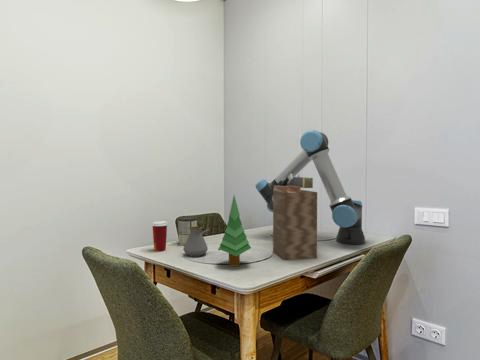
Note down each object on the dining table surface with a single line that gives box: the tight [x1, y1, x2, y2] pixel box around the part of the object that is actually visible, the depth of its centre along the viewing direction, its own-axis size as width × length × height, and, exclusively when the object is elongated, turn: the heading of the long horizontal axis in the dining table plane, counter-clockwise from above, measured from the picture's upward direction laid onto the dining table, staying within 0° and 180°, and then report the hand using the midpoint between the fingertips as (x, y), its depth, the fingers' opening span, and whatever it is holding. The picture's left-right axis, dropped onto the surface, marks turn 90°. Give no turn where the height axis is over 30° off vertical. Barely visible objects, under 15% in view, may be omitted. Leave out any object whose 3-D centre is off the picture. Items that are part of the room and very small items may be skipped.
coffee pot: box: [182, 220, 226, 257], centre depth 162 cm, size 21×12×15 cm, turn 119°
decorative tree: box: [217, 194, 252, 267], centre depth 142 cm, size 14×16×30 cm
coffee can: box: [177, 216, 198, 247], centre depth 182 cm, size 10×10×14 cm
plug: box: [286, 176, 314, 189], centre depth 163 cm, size 4×22×4 cm, turn 15°
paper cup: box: [151, 220, 168, 252], centre depth 168 cm, size 8×8×14 cm
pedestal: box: [272, 185, 318, 261], centre depth 158 cm, size 16×14×32 cm
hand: (296, 176), depth 165 cm, fingers closed on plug, 4 cm apart
